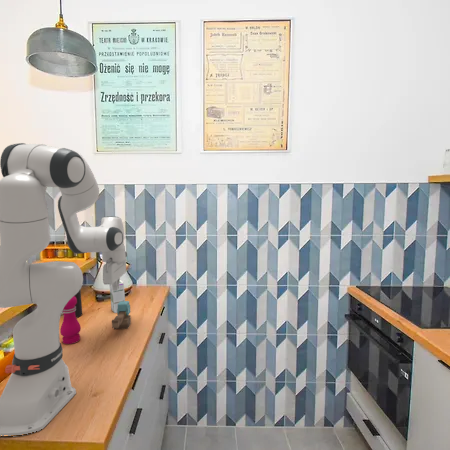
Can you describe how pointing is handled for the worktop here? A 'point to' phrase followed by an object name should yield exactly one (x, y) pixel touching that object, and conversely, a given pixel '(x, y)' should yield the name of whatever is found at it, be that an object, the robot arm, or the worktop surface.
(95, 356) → the worktop surface
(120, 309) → the rider
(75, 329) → the pepper mill
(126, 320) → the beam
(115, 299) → the syrup box
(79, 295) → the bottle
